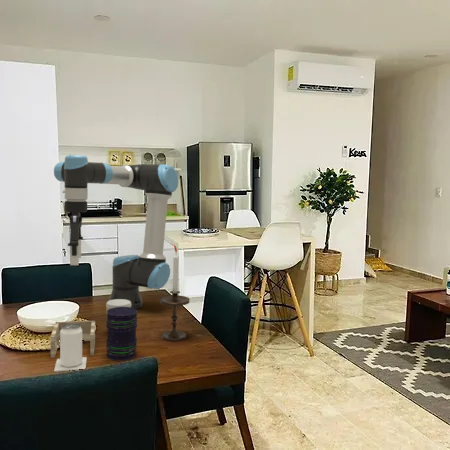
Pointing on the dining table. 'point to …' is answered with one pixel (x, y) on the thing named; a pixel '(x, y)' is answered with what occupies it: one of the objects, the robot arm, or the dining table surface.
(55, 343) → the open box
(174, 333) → the candlestick
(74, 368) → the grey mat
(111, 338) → the storage jar
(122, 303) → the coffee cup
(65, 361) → the can
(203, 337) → the dining table surface
